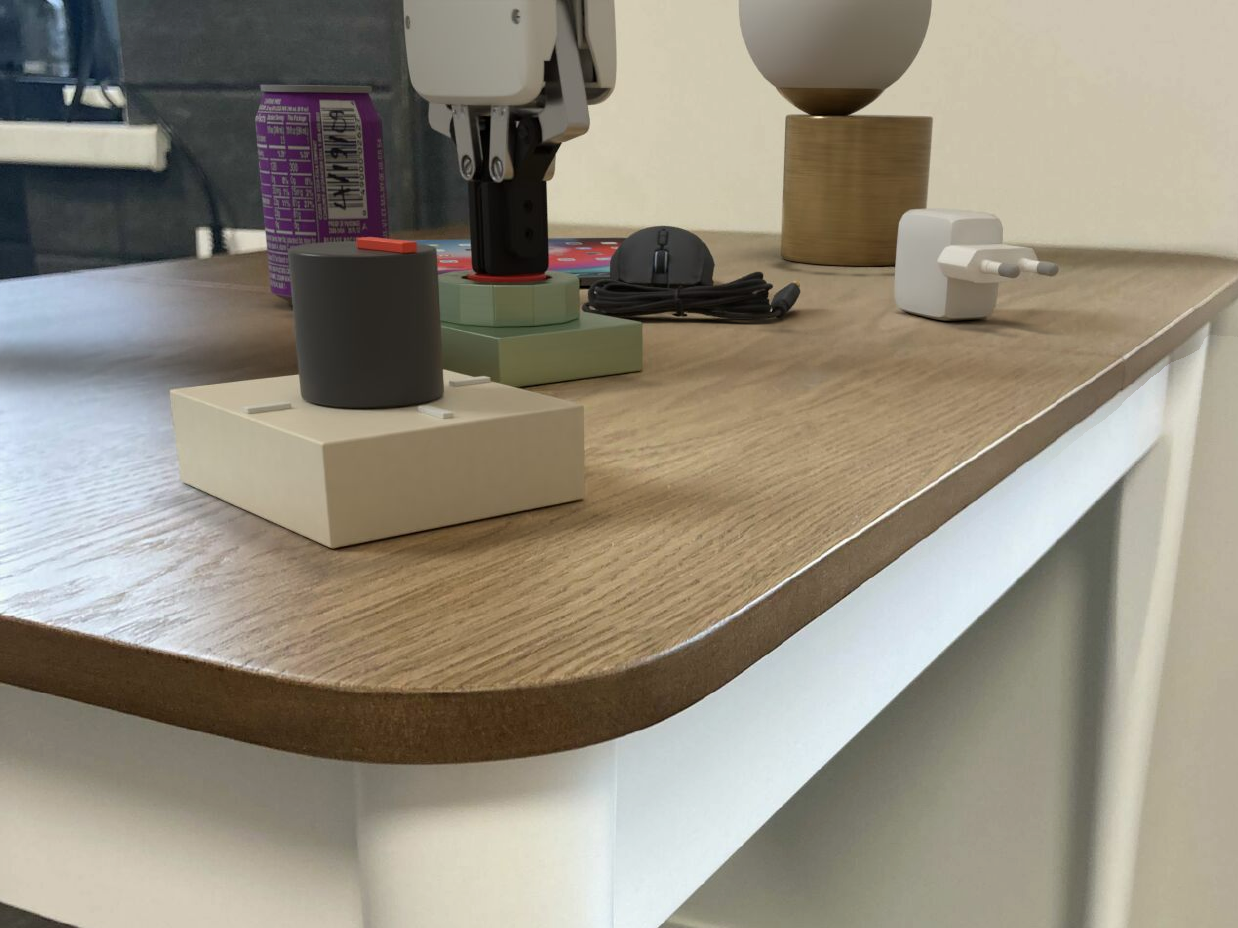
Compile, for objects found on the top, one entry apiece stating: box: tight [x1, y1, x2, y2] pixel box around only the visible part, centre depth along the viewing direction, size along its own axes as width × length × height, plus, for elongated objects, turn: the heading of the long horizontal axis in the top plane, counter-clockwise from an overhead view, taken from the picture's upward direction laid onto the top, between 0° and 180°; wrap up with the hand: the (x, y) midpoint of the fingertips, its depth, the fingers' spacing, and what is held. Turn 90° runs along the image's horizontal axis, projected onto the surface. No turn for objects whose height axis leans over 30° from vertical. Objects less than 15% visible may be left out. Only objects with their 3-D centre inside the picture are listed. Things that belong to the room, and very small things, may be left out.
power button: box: [467, 271, 546, 282], centre depth 68 cm, size 4×4×2 cm
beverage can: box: [254, 84, 390, 306], centre depth 86 cm, size 7×7×12 cm
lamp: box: [738, 0, 934, 267], centre depth 111 cm, size 15×14×25 cm
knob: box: [288, 237, 444, 408], centre depth 45 cm, size 4×4×5 cm
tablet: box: [404, 237, 627, 287], centre depth 108 cm, size 19×25×1 cm
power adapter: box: [893, 207, 1060, 322], centre depth 83 cm, size 11×5×6 cm, turn 25°
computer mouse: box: [581, 225, 801, 320], centre depth 89 cm, size 12×17×4 cm
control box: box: [169, 369, 586, 549], centre depth 47 cm, size 10×9×3 cm
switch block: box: [438, 270, 643, 388], centre depth 69 cm, size 10×8×4 cm
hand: (510, 272), depth 68 cm, fingers closed
